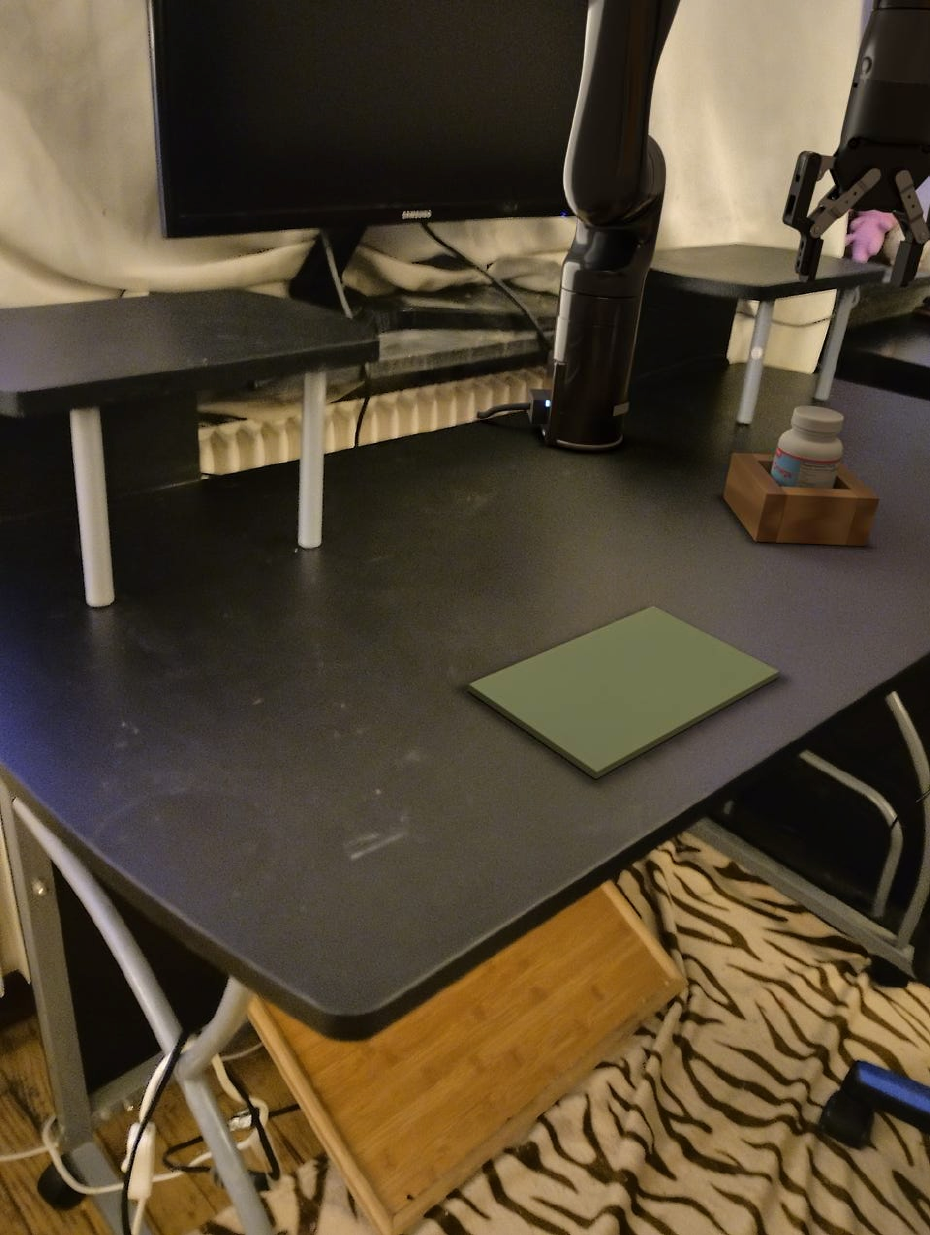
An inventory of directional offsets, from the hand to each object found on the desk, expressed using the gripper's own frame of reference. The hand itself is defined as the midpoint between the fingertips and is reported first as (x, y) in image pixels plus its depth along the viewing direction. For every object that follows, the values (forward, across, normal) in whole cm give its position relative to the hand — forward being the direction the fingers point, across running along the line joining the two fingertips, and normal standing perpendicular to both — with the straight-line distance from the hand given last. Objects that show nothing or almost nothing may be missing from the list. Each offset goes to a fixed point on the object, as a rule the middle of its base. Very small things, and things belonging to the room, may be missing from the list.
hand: (851, 283), depth 88 cm
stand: (+23, 0, 0) cm, 23 cm away
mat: (+23, +24, +31) cm, 45 cm away
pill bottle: (+23, 0, 0) cm, 23 cm away
